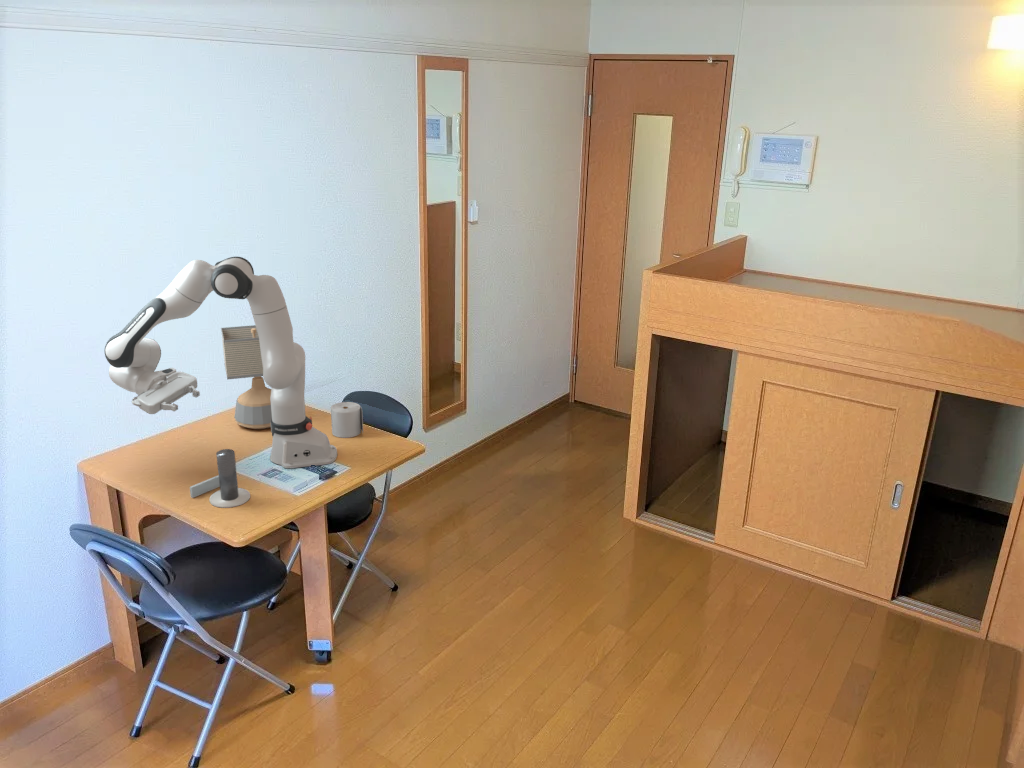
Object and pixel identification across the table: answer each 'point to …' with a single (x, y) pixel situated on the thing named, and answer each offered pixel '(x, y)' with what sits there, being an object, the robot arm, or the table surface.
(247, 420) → the desk lamp
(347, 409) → the toilet tissue
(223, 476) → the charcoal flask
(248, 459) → the table surface
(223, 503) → the resting pad
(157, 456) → the table surface
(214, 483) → the acrylic wall
